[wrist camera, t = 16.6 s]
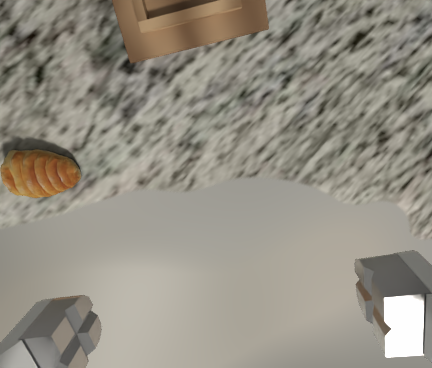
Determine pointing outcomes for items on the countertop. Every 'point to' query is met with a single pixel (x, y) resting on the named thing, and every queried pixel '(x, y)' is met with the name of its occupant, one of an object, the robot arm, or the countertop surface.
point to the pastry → (38, 173)
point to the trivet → (184, 24)
